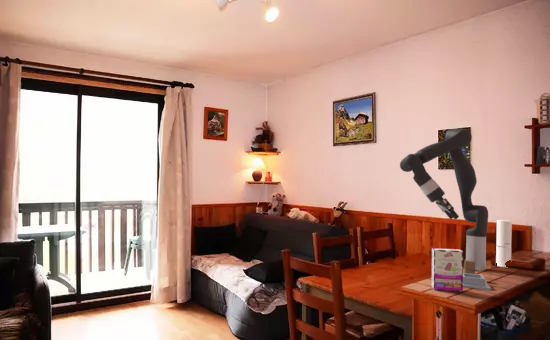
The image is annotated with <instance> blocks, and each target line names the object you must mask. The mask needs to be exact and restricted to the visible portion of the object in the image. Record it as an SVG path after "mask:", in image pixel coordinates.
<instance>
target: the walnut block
mask: <svg viewBox="0 0 550 340" xmlns="http://www.w3.org/2000/svg"><path fill="white" fill-rule="evenodd" d="M463 273H469V274H476V270H475V261H471V260H466V259H464V260H463Z"/></svg>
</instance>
